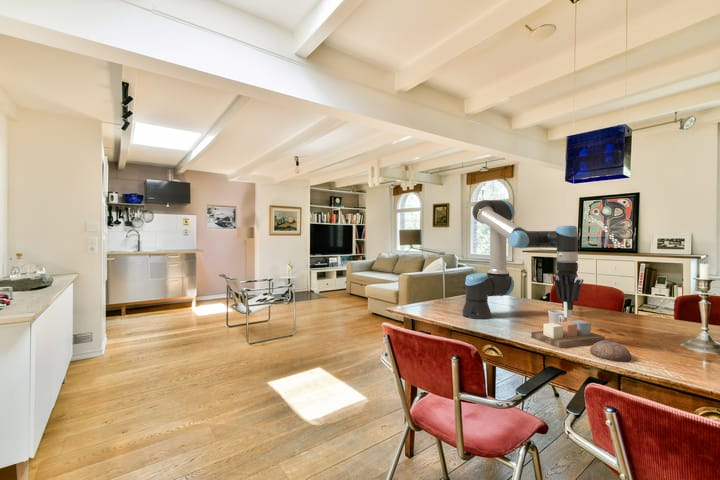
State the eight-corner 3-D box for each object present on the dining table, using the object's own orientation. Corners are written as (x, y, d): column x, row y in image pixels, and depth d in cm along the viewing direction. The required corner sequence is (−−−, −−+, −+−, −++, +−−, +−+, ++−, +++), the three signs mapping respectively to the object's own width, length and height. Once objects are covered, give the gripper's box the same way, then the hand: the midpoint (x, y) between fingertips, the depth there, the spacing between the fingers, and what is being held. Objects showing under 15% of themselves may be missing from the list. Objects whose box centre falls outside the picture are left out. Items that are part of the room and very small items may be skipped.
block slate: (570, 332, 140) (570, 321, 140) (579, 331, 142) (579, 320, 142) (581, 335, 136) (581, 324, 136) (590, 334, 137) (590, 323, 137)
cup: (573, 332, 147) (573, 315, 147) (554, 331, 149) (554, 314, 149) (563, 326, 158) (563, 309, 158) (545, 325, 159) (545, 309, 159)
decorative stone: (582, 352, 123) (582, 338, 123) (606, 349, 126) (606, 335, 126) (613, 364, 111) (613, 348, 111) (639, 360, 114) (639, 345, 114)
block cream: (543, 335, 136) (543, 323, 136) (552, 334, 138) (552, 322, 138) (553, 339, 132) (553, 326, 132) (563, 337, 133) (563, 325, 133)
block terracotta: (557, 333, 138) (557, 322, 138) (566, 332, 140) (566, 321, 140) (567, 337, 134) (567, 325, 134) (577, 336, 135) (577, 324, 135)
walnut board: (531, 337, 140) (531, 332, 140) (573, 332, 147) (574, 327, 147) (559, 348, 127) (559, 342, 127) (604, 342, 133) (604, 336, 133)
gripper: (547, 261, 142) (547, 314, 142) (574, 262, 129) (575, 321, 129) (560, 260, 144) (561, 313, 144) (588, 262, 131) (589, 319, 131)
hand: (567, 317), depth 136 cm, fingers closed
